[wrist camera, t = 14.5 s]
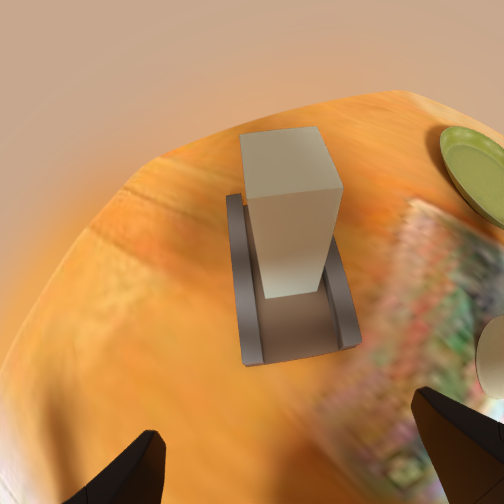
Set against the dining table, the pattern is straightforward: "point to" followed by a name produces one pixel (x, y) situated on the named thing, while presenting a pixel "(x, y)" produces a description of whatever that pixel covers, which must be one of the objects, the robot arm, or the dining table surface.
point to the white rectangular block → (290, 206)
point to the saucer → (476, 170)
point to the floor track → (287, 304)
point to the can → (491, 358)
